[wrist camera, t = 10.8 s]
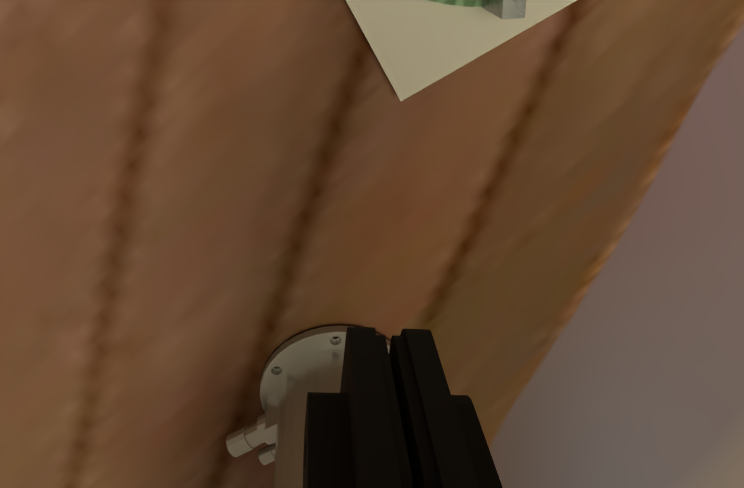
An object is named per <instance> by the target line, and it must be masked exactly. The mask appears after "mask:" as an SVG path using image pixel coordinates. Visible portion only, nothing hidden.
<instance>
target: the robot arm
mask: <svg viewBox="0 0 744 488" xmlns="http://www.w3.org/2000/svg"><path fill="white" fill-rule="evenodd" d="M260 399H261V404H262V407H263V409H264V411H265V413H264V414H262V415H260V416H259V417H258V418H257V423H255V424H253V425H251V426H246V427H244V428H242V429H240V430H238V431H235V432H233V433H231V434H229V435H228V436H227V437H226V445H227V449H228V451H229V453H230V454H231V455H232V456H233V457H238V456H240V455H242V454H244V453H246V452H248V451H250V450H252V449H255V448H256V447H257V446H258V445H260V444H263V443H266V444H268V446H266V447H264V448H262V449H260V450H259V451H258V457H259V460H260V462H261V463H262V464H263V465H267V464H269V463H271V462H273V461H274V477H273V488H502V485H501V482H500V479H499V476H498V473H497V471H496V468H495V465H494V462H493V460H492V456H491V454H490V451H489V448H488V445H487V442H486V439H485V437H484V434H483V431H482V428H481V425H480V422H479V420H478V417H477V414H476V411H475V408H474V405H473V403H472V401H471V399H470V397H468V396H467V395H451V394H450V391H449V387H448V384H447V381H446V378H445V375H444V371H443V368H442V365H441V362H440V359H439V355H438V352H437V349H436V346H435V342H434V339H433V336H432V333H431V331H430V330H424V329H403V330H402V331H401V335H400V336H392V338H391V341H389V340H387V339H386V337H385V335H379V334H377V333H376V330H375V328H368V327H354V326H327V327H321V328H316V329H312V330H308V331H306V332H304V333H301V334H299V335H296V336H294V337H293V338H291V339H290V340H288V341H287V342H285V343H283V344H282V345H281V346H280V347H279V348H278V349H277V350H276V351H275V352H274V353H273V354H272V356H271V357H270V358H269V360H268V361H267V362H266V365H265V367H264V370H263V372H262V376H261V383H260ZM273 443H274V444H273Z"/></svg>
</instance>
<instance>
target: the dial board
mask: <svg viewBox="0 0 744 488" xmlns="http://www.w3.org/2000/svg"><path fill="white" fill-rule="evenodd" d="M575 1H577V0H526V10H525V18H516V19H501V18H499V17H497V16H495V15H494V14H492V13H490V12H489V11H487V10H485V9H483V8H482V4H483V0H346V2H347V4H348V5H349V7H350V9H351V11H352V13H353V15H354V16H355V18H356V20H357V22H358V24H359V26H360V27H361V29H362V31H363V33H364V35H365V37H366V38H367V40H368V42H369V44H370V46H371V48H372V49H373V51H374V53H375V55H376V57H377V59H378V61H379V62H380V64H381V66H382V68H383V70H384V72H385V73H386V75H387V77H388V79H389V81H390V83H391V84H392V86H393V88H394V90H395V92H396V94H397V95H398V97H399V99H400V101H403V100H404V99H406V98H408V97H410V96H411V95H413V94H415V93H417V92H418V91H420V90H422V89H424V88H425V87H427V86H429V85H431V84H432V83H434V82H436V81H437V80H439V79H441V78H443V77H444V76H446V75H448V74H450V73H451V72H453V71H455V70H457V69H458V68H460V67H462V66H464V65H465V64H467V63H469V62H471V61H472V60H474V59H476V58H477V57H479V56H481V55H483V54H484V53H486V52H488V51H490V50H491V49H493V48H495V47H497V46H498V45H500V44H502V43H504V42H505V41H507V40H509V39H511V38H512V37H514V36H516V35H517V34H519V33H521V32H523V31H524V30H526V29H528V28H530V27H531V26H533V25H535V24H537V23H538V22H540V21H542V20H544V19H545V18H547V17H549V16H551V15H552V14H554V13H556V12H558V11H559V10H561V9H563V8H564V7H566V6H568V5H570V4H571V3H573V2H575Z"/></svg>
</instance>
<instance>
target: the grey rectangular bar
mask: <svg viewBox="0 0 744 488" xmlns="http://www.w3.org/2000/svg"><path fill="white" fill-rule="evenodd" d="M482 8H483V9H485V10H487V11H489V12H490V13H492V14H494V15H495V16H497V17H499V18H501V19H516V18H525V10H526V0H483V4H482Z"/></svg>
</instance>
